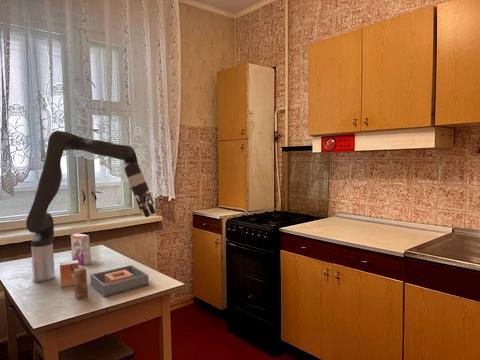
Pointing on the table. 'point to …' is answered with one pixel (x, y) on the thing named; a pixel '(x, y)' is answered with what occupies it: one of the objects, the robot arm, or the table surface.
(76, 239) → the candy bar box
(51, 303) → the table surface
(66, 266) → the small box
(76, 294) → the walnut peg
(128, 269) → the walled bin
